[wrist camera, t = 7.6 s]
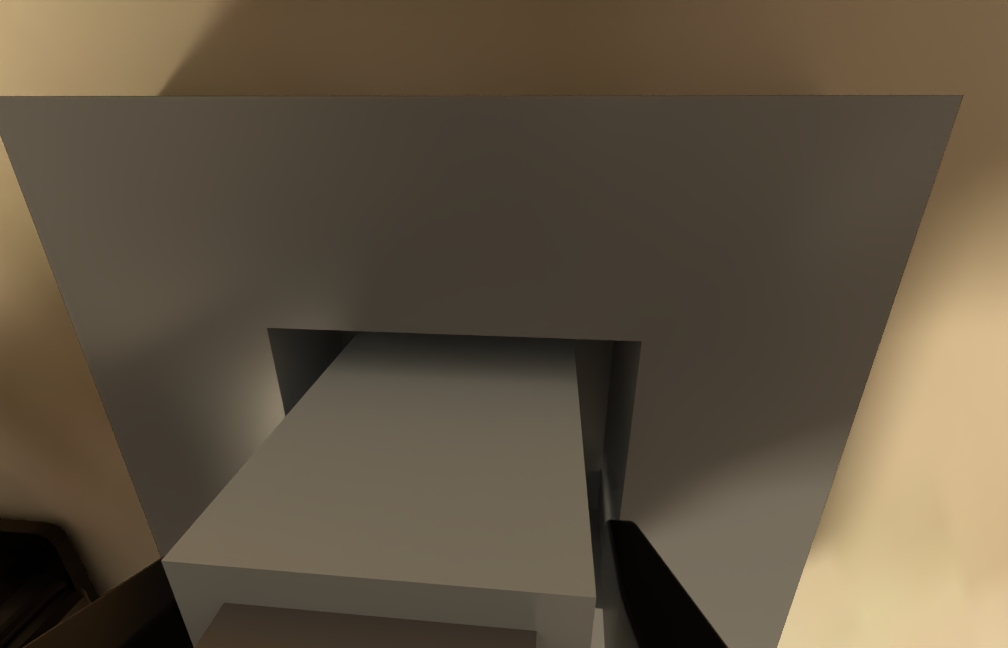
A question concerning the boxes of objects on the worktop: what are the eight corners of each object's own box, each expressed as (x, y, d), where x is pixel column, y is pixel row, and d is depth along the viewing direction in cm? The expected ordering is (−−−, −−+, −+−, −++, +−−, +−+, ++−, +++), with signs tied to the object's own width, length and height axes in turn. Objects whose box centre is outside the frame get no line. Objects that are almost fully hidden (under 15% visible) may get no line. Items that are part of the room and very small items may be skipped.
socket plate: (273, 568, 14) (207, 679, 11) (152, 99, 9) (-15, 96, 6) (707, 600, 13) (748, 730, 10) (827, 99, 8) (963, 95, 6)
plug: (390, 471, 12) (121, 1076, 4) (373, 314, 10) (-98, 859, 3) (561, 482, 11) (577, 1156, 4) (572, 321, 10) (627, 963, 2)
